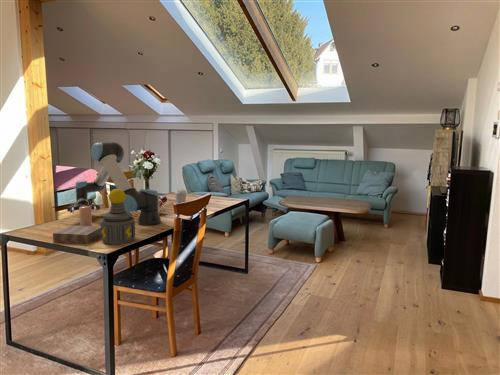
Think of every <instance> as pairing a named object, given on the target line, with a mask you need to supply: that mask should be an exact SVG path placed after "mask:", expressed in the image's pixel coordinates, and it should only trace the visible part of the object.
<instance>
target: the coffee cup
mask: <svg viewBox="0 0 500 375" xmlns="http://www.w3.org/2000/svg"><path fill="white" fill-rule="evenodd" d="M174 195H175V202H176V203H181V202H185V203H186V199H187V190H186V189H175V191H174Z"/></svg>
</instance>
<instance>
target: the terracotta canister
mask: <svg viewBox="0 0 500 375" xmlns="http://www.w3.org/2000/svg"><path fill="white" fill-rule="evenodd" d="M78 212H79V226H93V220H92V219H93V216H92V209H91V206H81V207H79V210H78Z"/></svg>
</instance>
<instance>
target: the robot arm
mask: <svg viewBox="0 0 500 375" xmlns="http://www.w3.org/2000/svg"><path fill="white" fill-rule="evenodd" d="M90 151H91V152H90V156H91V159H92V160H94V161H96V162H98V163H99V165H100V166H102V167H101V169H100V171H99V173H98V174H97V176H96V177H95V179H94V181H91V182H87V180H85V179H84V180H83V179H82V180H76V182H75V194H76V195H75V203H76V205H75V204H72V205H70V206H68V207H67V208H66V210H67V212H70V213H72V215H73V214H74V213H75V211H79V207H81V206H91V210H93V211H94V213H97V211H99V210H101V206H100V205H98V204H94V203H91V204H89V200H88V199H89V198H88V193H96V192H97V193H98V192H102V191H105V190H106V187H107V181H108V179H109V178H111V181H112V182H113V184H114V186H115V187H116V188H115V189H121V190H122V191H123V192H124V193H125V195H126V198H125V201H124V202H123V203H124V206H125V208H124V209H125V210H126V211H128V212H131V213H134V212H137V211H139V215H138V219H137V224H138V225H142V226H155V224H156V225H159V224H161V223H162V218H161V215H160V212H159V213H158V201H159V196H158V191H157V190H156V189H148V188H145V189H144V188H141V189H139V192H138V190H137V189H136V187H132V185H131V183H130V181H129V180H128V178H127V177H126V175H125V172H124V171H123V169H122V168H121V166H120V165H119V164H120V163H121V162H122V160H123V159H124V156H125V151H124V147H123V146H122V145H120V143H118V142H96V143H94V144H93V145H92V146H91V149H90Z"/></svg>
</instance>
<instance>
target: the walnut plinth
mask: <svg viewBox="0 0 500 375" xmlns="http://www.w3.org/2000/svg"><path fill="white" fill-rule="evenodd" d="M99 237H100V238H101V226H96V225H95V226H94V225H92V226H80V225H75V224H74V225H73V224H70V225H68V226H65V227H64V228H61V229H59V230H57V231H55V232H53V233H52V240H53V241H52V242H54V243H67V244H68V243H70V244H89V243H91V242H92V241H94V240H96V239H98V238H99Z"/></svg>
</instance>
